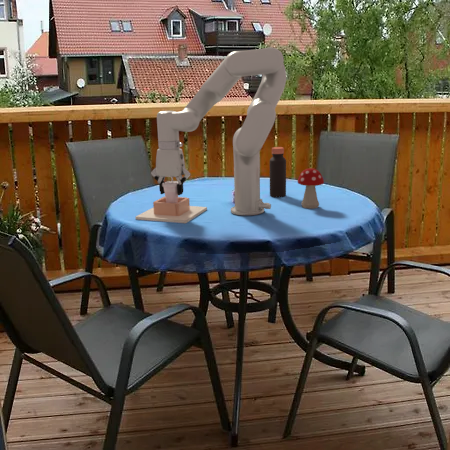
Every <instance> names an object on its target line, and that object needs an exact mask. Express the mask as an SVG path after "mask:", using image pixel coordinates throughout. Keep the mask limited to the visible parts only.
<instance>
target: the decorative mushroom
mask: <svg viewBox="0 0 450 450" xmlns="http://www.w3.org/2000/svg"><path fill="white" fill-rule="evenodd" d="M324 182H325V181H324V177H323V175H322V173H321V172H320V171H319V170H318V169H317V168H312V167H309V168H305V169H304V170H302V171H301V172H300V174H299V176H298V179H297V184H298V185H301V186H305V189H304V192H303V198H302V201H301V202H300V204H301V206H302V207H301V208H303V209H312V210H313V209H318V208H319V206H320V201H319V200H318V195H317V189H316V187H317V186H322V185H323V184H324Z"/></svg>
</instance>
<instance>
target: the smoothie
mask: <svg viewBox="0 0 450 450" xmlns="http://www.w3.org/2000/svg"><path fill="white" fill-rule="evenodd" d="M170 178H171V181H170V180H169V181H164V183H162V186H163V187H164V197H165V198H166V203H178V197H179V195H178V194H177V185H178V182H177V180H174V177H170Z"/></svg>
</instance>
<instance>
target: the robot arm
mask: <svg viewBox="0 0 450 450" xmlns="http://www.w3.org/2000/svg"><path fill="white" fill-rule="evenodd" d="M284 63H285V61H284V55H283V53H282V51H281V50H279V49H278V48H275V47H273V46H272V47H271V46H270V47H264V48H258V49H256V48H255V49H249V50H247V49H246V50H234V51H231V52H230V53H228V54H227V56H225V58H224V59H223V60H222V61H221V63H219V65H218V66H217V68H215V70H214V71H213V72H212V73H211V74H210V76H209V77H208V78H207V79H206V80H205V82H204V83H203V84H202V85H201V87H200V89H198V91H197V92H196V93H195V94H194V96H193V98H192V99H191V100H190V101H189V102H188V103H187V104H186V105H185V107H184V108H183V109H182V110H181V111H176V110H175V111H174V110H161V111H159V112H157V114H156V124H157V125H156V126H157V139H158V140H157V142H158V143H157V144H158V145H157V146H158V149H157V150H156V158H155V167H154V168H153V170H151V172H150V175H151V176H152V177H153V178H154V180H156V182H157V184H158V187H159V193H160V195H165V193H164V187H163V186H162V183H164V182H165V179H166V177H168V178H171V177H173V178H175V179H176V181H177V182H178V185H177V194H178V196H180V195H183V193H184V183H185V182H186V181H187V180H188V178H189V177H190V176H191V173H190V171H189V170H188V169H187V168H186V165H185V164H186V163H185V157H184V152H183V149H182V148H181V147H183V146H184V145H183V142H180V132H189V133H190V132H193V131H196V130H197V129H198V127H199V125H200V122H201V120H202V119H203V118H204V117H205V116H206V115H207V113H208V112H209V111H210V110H211V109H212V108H213V107H214V106H216V104H218V103H219V102H220V101H222V100H224V98H225V97H226V96H227V94H228V93H229V92H230V91H231V90H232V88H233V87H234V86H235V85H236V84H237V82H238V81H240V79H241V78H242V77H250V76H251V77H252V76H260V75H262V76H261V82H260V83H259V86H258V88H257V90H256V93H255V94H254V97H253V98H252V100H251V102H250V104H249V106H248V108H247V110H246V117H245V119H244V121H243V123H242V125H241V127H239V128H238V129H236V131H235V132H234V134H233V137H232V146H233V147H232V150H233V175H234V176H233V182H234V185H233V187H234V189H233V191H234V206H232V207H230V213H232V214H233V215H237V216H257V215H261V214H263V213H264V212H265V209H266V210H271V208H272V204H271V203H270V202H264V201H263V198H261V179H260V178H261V169H260V168H261V156H260V151H261V150H262V148H263V145H264V144H265V142H266V140H267V138H268V136H269V134H270V132H271V130H272V128H273V126H274V124H275V121H276V117H277V113H276V107H277V106H278V103H279V102H280V99H281V98H282V97H281V96H282V95H283V92H284V90H285V87H286V82H287V71H286V68H285V64H284Z"/></svg>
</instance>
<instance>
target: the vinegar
mask: <svg viewBox="0 0 450 450" xmlns="http://www.w3.org/2000/svg"><path fill="white" fill-rule="evenodd" d="M284 152H285V148H284V147H282V146H274V147H271V155H272V157H270V159H269V196H270V197H272V198H285V197H286V196H287V159H286V158H285V157H284V154H285V153H284Z"/></svg>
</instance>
